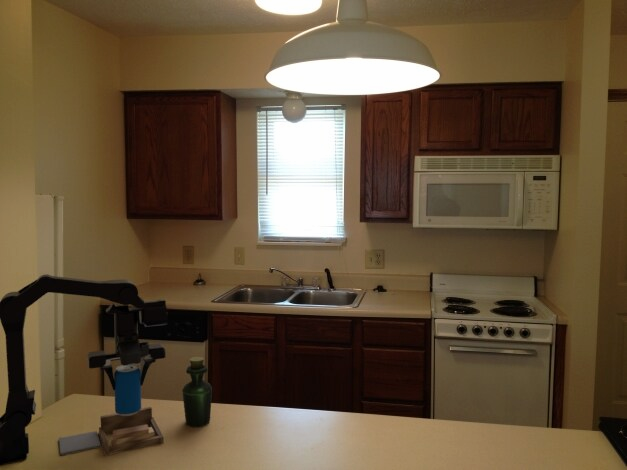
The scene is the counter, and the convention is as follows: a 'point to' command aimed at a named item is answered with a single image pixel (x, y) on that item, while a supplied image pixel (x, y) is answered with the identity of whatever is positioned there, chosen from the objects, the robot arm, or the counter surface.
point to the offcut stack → (131, 434)
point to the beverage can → (127, 389)
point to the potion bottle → (197, 395)
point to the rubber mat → (79, 442)
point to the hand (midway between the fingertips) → (127, 387)
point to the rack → (122, 422)
